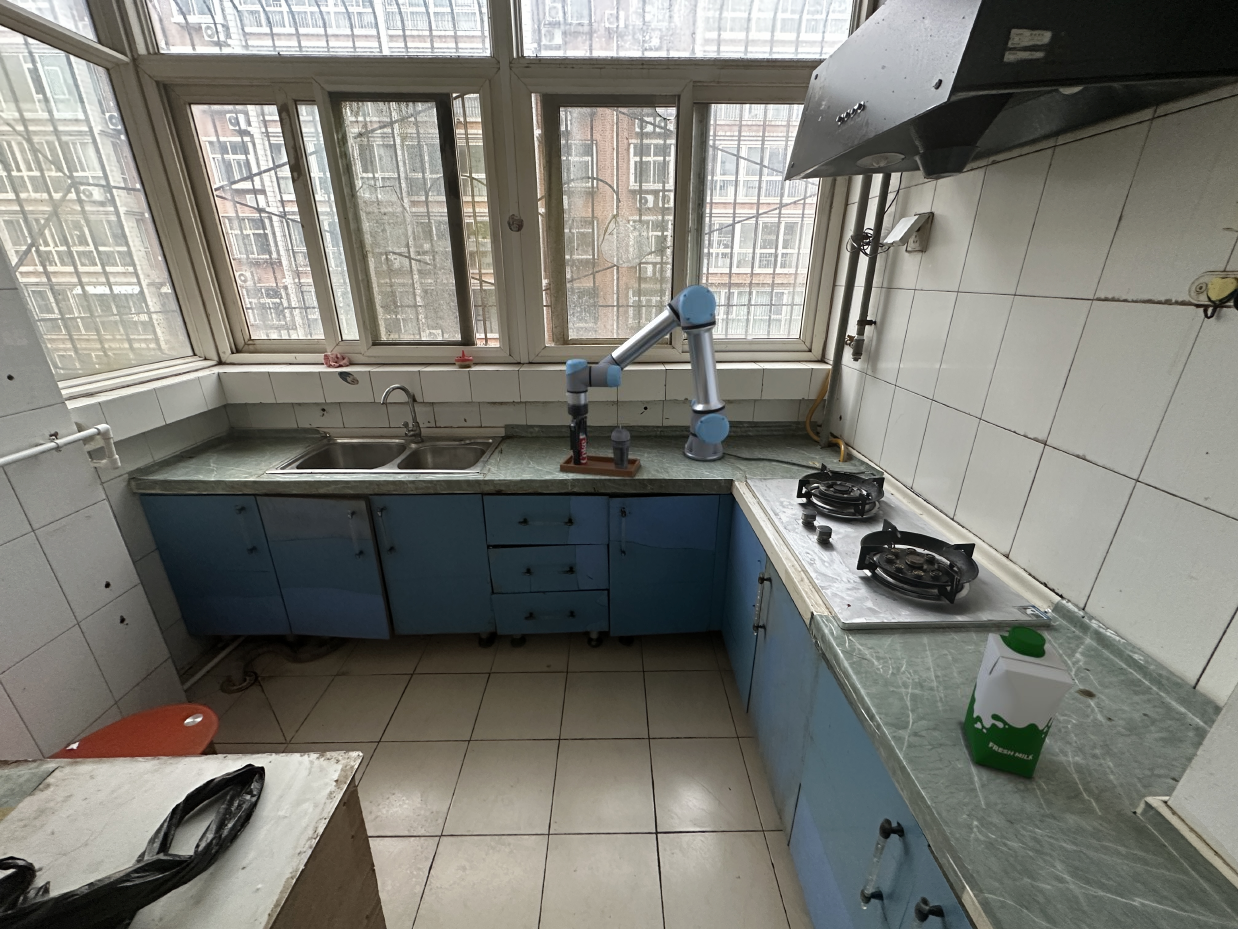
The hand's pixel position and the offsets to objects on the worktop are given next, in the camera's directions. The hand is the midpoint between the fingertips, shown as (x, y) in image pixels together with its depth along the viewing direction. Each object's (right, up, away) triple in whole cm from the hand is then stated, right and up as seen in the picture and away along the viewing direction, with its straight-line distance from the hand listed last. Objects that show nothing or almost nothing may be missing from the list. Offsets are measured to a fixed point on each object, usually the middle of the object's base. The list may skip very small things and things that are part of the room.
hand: (580, 463), depth 188 cm
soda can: (0, -1, 0) cm, 1 cm away
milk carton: (+72, -44, -112) cm, 140 cm away
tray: (+8, -2, -1) cm, 8 cm away
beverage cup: (+15, -2, -3) cm, 16 cm away
